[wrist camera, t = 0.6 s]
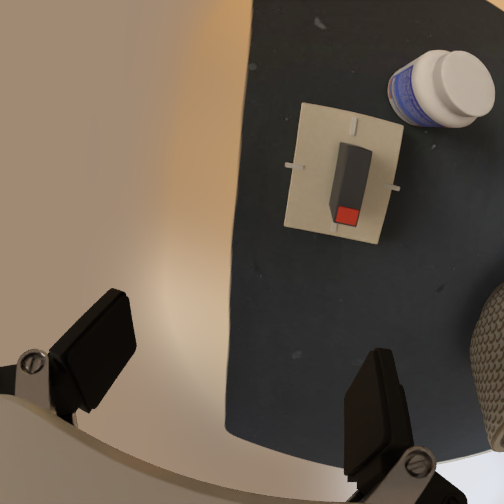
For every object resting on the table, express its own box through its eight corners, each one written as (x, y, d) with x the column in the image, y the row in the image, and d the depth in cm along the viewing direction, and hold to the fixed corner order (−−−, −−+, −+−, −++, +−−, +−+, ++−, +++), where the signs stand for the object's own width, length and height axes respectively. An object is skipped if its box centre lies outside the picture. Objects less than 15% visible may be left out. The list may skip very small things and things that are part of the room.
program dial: (339, 141, 19) (348, 145, 15) (360, 146, 19) (373, 151, 15) (328, 204, 21) (333, 224, 17) (348, 208, 21) (357, 229, 17)
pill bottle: (420, 139, 20) (478, 151, 11) (374, 96, 19) (413, 79, 11) (451, 98, 17) (515, 93, 9) (406, 55, 17) (456, 23, 8)
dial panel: (295, 103, 21) (293, 100, 19) (401, 127, 20) (411, 128, 17) (279, 215, 25) (275, 225, 23) (377, 235, 24) (384, 247, 22)
